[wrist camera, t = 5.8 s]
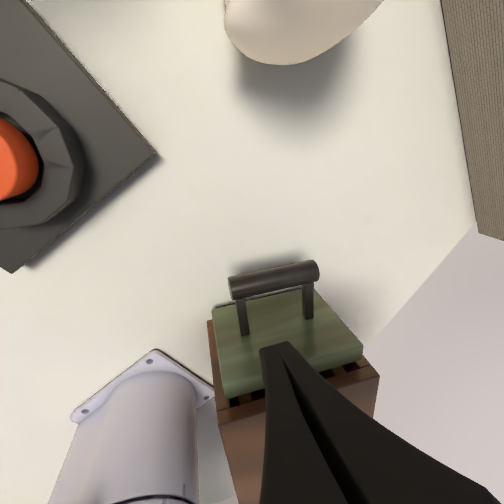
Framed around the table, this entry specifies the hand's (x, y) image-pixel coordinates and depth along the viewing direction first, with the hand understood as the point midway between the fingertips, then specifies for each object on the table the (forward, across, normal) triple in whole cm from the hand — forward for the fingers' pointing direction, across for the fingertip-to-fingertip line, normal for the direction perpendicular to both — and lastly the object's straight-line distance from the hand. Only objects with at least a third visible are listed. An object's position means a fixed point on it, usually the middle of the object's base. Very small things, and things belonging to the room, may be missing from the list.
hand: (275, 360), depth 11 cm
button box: (+9, +10, -10) cm, 17 cm away
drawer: (+8, -2, +5) cm, 10 cm away
